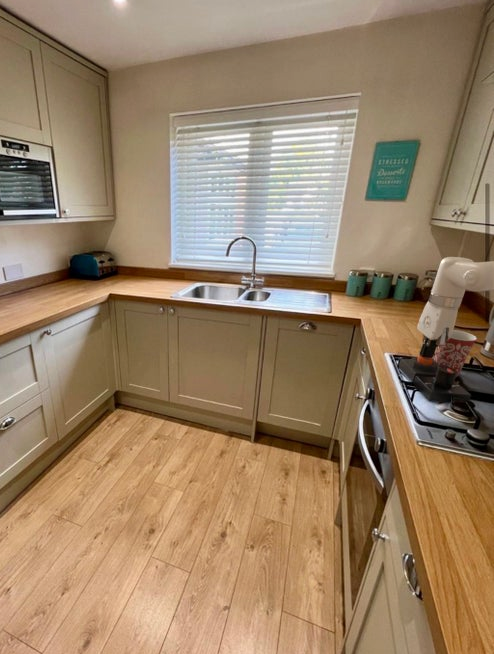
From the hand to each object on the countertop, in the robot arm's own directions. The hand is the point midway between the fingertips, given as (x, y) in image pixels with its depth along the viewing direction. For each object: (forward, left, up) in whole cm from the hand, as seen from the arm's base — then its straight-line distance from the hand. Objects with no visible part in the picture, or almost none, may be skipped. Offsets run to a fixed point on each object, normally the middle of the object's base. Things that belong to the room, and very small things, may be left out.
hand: (425, 356), depth 104 cm
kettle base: (0, 0, -7) cm, 7 cm away
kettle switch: (0, 0, -2) cm, 2 cm away
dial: (0, +11, -4) cm, 12 cm away
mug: (-10, -5, -7) cm, 13 cm away
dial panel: (0, +11, -7) cm, 13 cm away
